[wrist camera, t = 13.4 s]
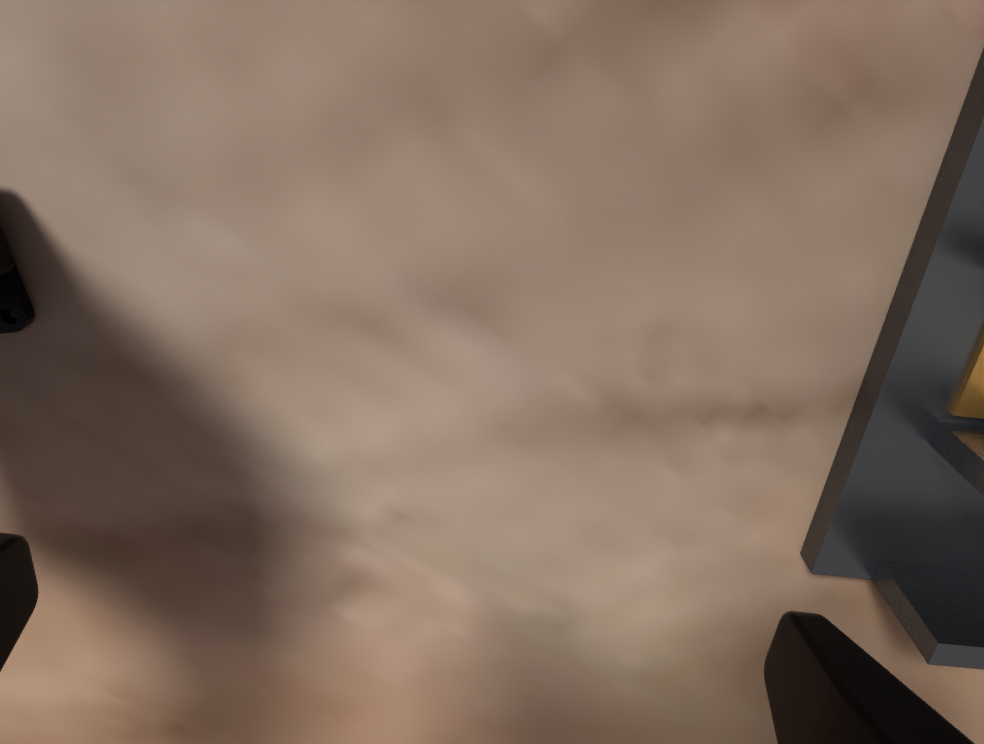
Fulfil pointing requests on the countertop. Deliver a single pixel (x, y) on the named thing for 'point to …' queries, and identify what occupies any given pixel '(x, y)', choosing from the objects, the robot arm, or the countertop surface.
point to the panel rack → (923, 427)
